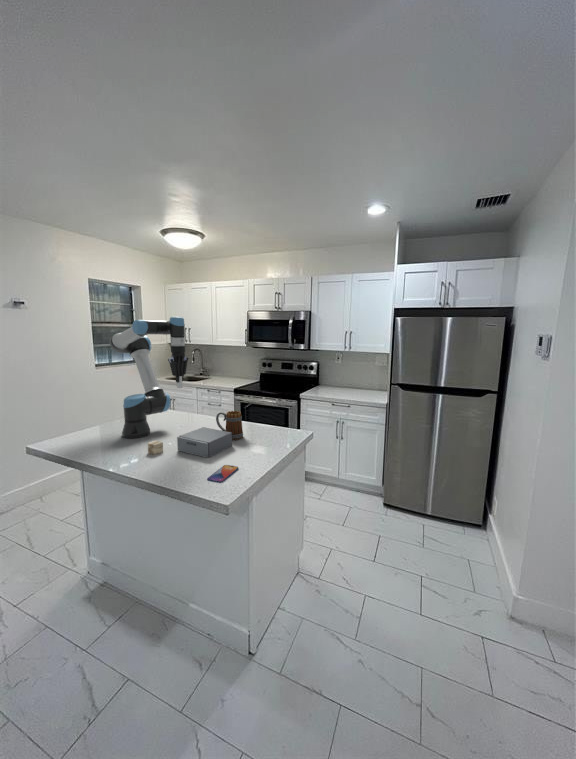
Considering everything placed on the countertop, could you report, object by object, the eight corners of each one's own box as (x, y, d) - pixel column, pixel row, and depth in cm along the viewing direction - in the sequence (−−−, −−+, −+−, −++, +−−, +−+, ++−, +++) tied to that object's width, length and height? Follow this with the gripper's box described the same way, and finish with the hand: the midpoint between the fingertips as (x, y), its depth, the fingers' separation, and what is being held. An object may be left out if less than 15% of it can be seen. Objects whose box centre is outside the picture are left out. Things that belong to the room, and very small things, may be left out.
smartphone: (206, 481, 131) (206, 479, 131) (224, 466, 145) (224, 464, 145) (221, 484, 129) (221, 482, 128) (239, 469, 143) (239, 466, 142)
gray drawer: (206, 457, 153) (206, 443, 152) (176, 450, 162) (176, 437, 161) (228, 446, 169) (228, 434, 168) (200, 440, 178) (200, 428, 177)
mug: (245, 435, 189) (244, 410, 187) (240, 441, 179) (240, 415, 177) (219, 434, 191) (219, 409, 189) (213, 439, 181) (213, 414, 178)
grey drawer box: (209, 457, 155) (208, 442, 154) (179, 449, 164) (178, 435, 163) (232, 446, 171) (231, 432, 170) (203, 439, 180) (203, 427, 179)
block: (148, 452, 160) (147, 443, 159) (156, 449, 164) (155, 440, 163) (155, 454, 157) (154, 445, 157) (163, 451, 162) (162, 442, 161)
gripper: (173, 346, 167) (175, 390, 171) (191, 345, 179) (193, 386, 182) (163, 345, 171) (165, 388, 174) (181, 345, 182) (183, 385, 186)
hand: (179, 387), depth 178 cm, fingers closed
